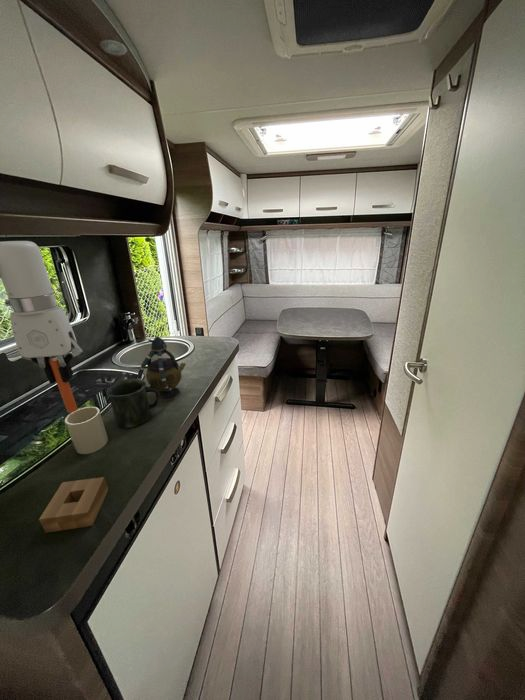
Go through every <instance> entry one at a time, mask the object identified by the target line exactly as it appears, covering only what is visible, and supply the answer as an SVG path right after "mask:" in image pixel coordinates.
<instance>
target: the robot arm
mask: <svg viewBox="0 0 525 700" xmlns="http://www.w3.org/2000/svg"><path fill="white" fill-rule="evenodd" d="M0 280H1V282H2V285H3V288H4V291H5V292H6V295H7V298H8V299H5V301H4V304H5V306H7V307H11V309H12V312H10V314H9V316H10V326H11V331H12V334H13V339H14V342H15V345H16V348H17V350H18V353H19V355H20V356H21V357H20V358H22V359H23V360H27V361H31V362H33V363H35V364H36V365H38V366H39V368H40V369H43V371H44V374H45V377H46V378H47V380H48V382H49V384H51V385H52V384H55V383H57V382H56V379H55V377H54V374H53V371H52V368H51V366H50V363H49V359H52V357H57V359H58V362H59V364H60V367H59V368H58V369H59V372H60V375H61V378H62V381H63V382H64V383H65V382H69V381H70V380H71V379H73V377H74V372H73V369H72V366H71V362H72V360H73V359H74V358H75V357H78V356H79V355H81V354H82V353H83V352H84V350H83V349H82V347H81V346H79V344H78V341H77V338H76V335H75V332H74V330H73V327H72V325H71V322H70V320H69V318H68V316H67V314H66V313H65V311H64V309H63V307H61V306H59V305H58V301H57V298H56V296H55V293H54V289H53V286H52V283H51V280H50V277H49V274H48V270H47V267H46V264H45V260H44V258H43V255H42V252H41V250H40V247H39V246H38V245H37V243H35V242H34V241H30V240H7V241H5V240H4V241H0Z"/></svg>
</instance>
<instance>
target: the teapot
mask: <svg viewBox="0 0 525 700" xmlns="http://www.w3.org/2000/svg"><path fill="white" fill-rule="evenodd" d="M147 341H149V342H150V343H151V345H150V347H151V348H150V349H151V350H150V351H149V353H148V355H147V356H146V357H145V358H144V359H143V361H142V363H141V365H140V367H139V369H138V373H137V377H136V379H141V380H143V379H142V377H143V374H144V371H145V368H146V367H147V368H146V375H145V377H146V381H147V383H148V385H149V386H147V385H146V386H145V389H147V388H155V389H157V390H158V392H159V401H158V402H169V401H173V400H175V399H177V398H178V397H179V396H180V395H181V389H180V388H178V387H177V386H178V385H179V384H180V382H181V380H182V372H183V371H184V369H185V367H186V363H185V362H181V363H180V365H179V363H178V362H177V359H176V358H175V356H174V355H173V354H172V353H171V351H169V350H167V349H168V346H167V344H166V342H165V340H164V339H162V338H161V337H159V336H156V337H154V338H153V340H152V339H147ZM164 354H166V355H167V356H168V357H163V356H162V355H164ZM155 355H156V356H157V359H155V360H153V361H152V358H153V357H154V356H155ZM154 394H155V395H154V398H155V400H156V399H157V395H156V393H154ZM176 397H177V398H176ZM174 398H175V399H174ZM168 400H169V401H168Z"/></svg>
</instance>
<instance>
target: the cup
mask: <svg viewBox="0 0 525 700" xmlns="http://www.w3.org/2000/svg"><path fill="white" fill-rule="evenodd" d="M64 423H65V426H66V429H67V431H68V434H69V437H70V439H71V442H72V445H73V447H74V450H75V451H76V453H77V454H79V455H88V454H89V455H90V454H93V453H95V452H98V451H99V450H102V449H103V448H104V447H105V446H106V445H107V443H108V442H109V436H108V433H107V429H106V426H105V423H104V419H103V416H102V413H101V410H100V408H98V407H97V406H86V407H81V408H79V409H77V410H76V411H75V412H72V413H68V414H67V416H66V417H65V419H64Z"/></svg>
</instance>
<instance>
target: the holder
mask: <svg viewBox="0 0 525 700" xmlns="http://www.w3.org/2000/svg"><path fill="white" fill-rule="evenodd" d="M108 491H109V487H108V484H107V480H106V477H105V476H101V477H94V478H92V477H91V478H85V479H84V478H83V479H79V480H78V479H77V480H71V481H70V480H69V481H62V483H61V484H60V485H59V487H58V489H57V490H56V492H55V493H54V495H53V497H52V498H51V499H50V501H49V503H48V505H47V506H46V508H45V510H43V512H42V514H41V515H40V517H39V519H38V521H39V522H40V525H41V526H42V528H43V531H44V533H45V534H47V533H54V532H61V531H68V530H74V529H80V528H88V527H93V526H94V523H95V521H96V519H97V516H98V514H99V512H100V510H101V507H102V505H103V503H104V501H105V498H106V497H107V494H108Z"/></svg>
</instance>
